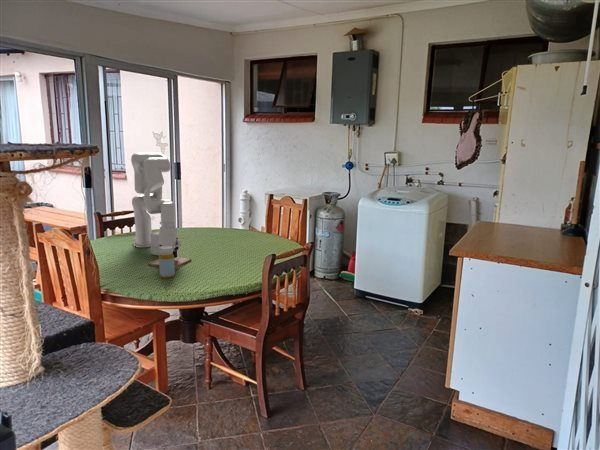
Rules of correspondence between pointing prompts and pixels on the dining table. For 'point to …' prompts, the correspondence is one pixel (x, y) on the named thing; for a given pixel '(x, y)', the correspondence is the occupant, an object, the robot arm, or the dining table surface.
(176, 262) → the brown rectangular plate
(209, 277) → the dining table surface
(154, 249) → the supplement box
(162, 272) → the bottle
